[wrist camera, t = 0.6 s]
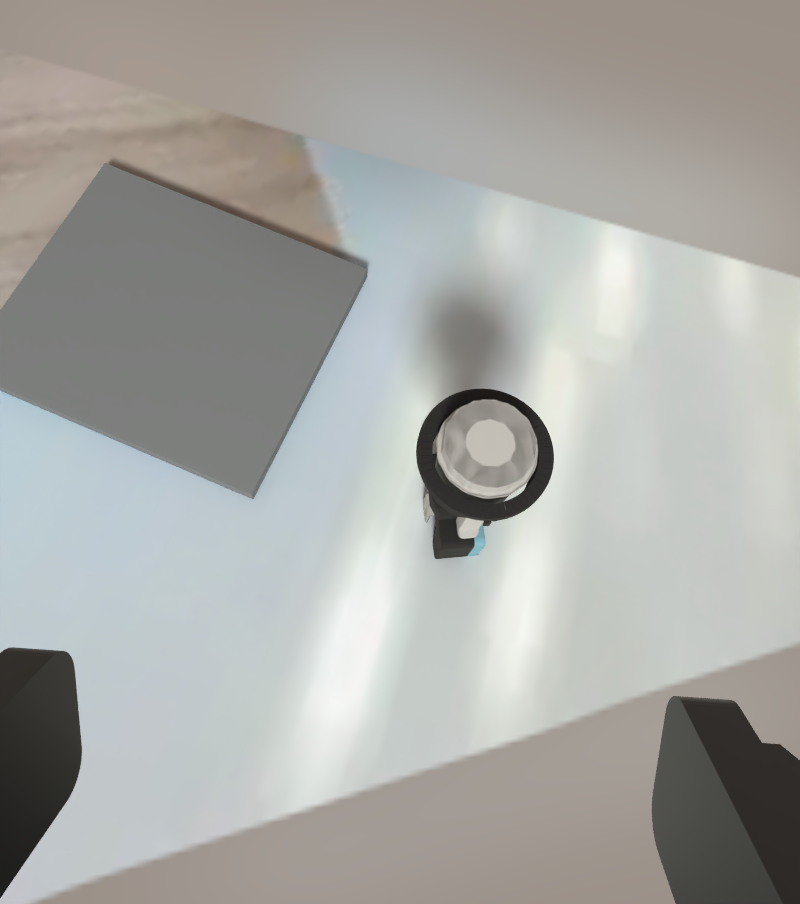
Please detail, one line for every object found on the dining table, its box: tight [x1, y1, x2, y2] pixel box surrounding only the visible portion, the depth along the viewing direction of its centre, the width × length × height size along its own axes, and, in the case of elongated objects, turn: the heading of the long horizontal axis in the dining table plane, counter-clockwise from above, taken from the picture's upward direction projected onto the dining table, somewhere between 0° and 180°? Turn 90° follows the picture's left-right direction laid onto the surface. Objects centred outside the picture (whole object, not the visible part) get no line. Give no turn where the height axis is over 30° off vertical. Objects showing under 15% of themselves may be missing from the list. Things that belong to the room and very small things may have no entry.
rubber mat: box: [0, 163, 367, 499], centre depth 39 cm, size 16×14×1 cm
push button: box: [416, 389, 554, 559], centre depth 33 cm, size 7×5×10 cm
